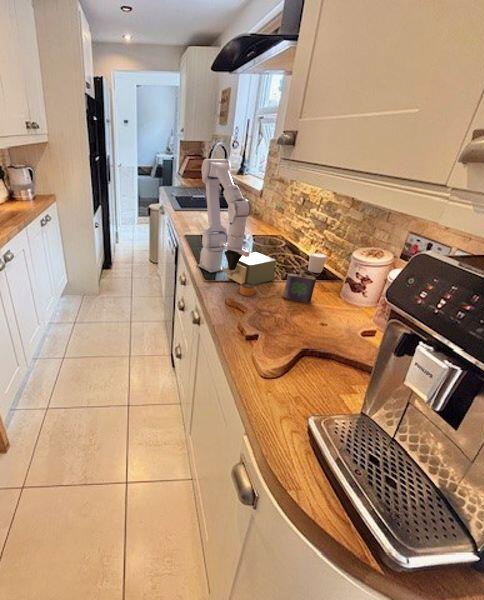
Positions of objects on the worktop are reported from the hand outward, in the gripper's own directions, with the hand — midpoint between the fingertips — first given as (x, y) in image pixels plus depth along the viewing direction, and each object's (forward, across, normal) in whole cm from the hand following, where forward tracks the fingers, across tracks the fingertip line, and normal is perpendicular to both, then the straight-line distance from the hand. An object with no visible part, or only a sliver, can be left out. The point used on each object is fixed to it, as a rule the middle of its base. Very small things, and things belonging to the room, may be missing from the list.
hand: (231, 269), depth 124 cm
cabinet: (+6, 0, +11) cm, 12 cm away
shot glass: (+6, +6, +43) cm, 44 cm away
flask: (+6, +22, +12) cm, 26 cm away
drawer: (+5, 0, +6) cm, 8 cm away
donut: (+6, +10, 0) cm, 11 cm away
